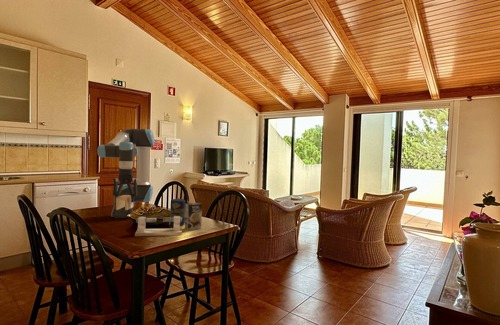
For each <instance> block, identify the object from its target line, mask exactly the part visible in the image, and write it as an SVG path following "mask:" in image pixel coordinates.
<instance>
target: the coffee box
mask: <svg viewBox="0 0 500 325" xmlns="http://www.w3.org/2000/svg"><path fill="white" fill-rule="evenodd" d="M202 215H203V204H202V202H201V203H200V202H188V203H186V202H185V223H184V229H186V230H187V231H192V230H193V231H194V230H201V229H202V223H203V222H202V217H203V216H202Z"/></svg>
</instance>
